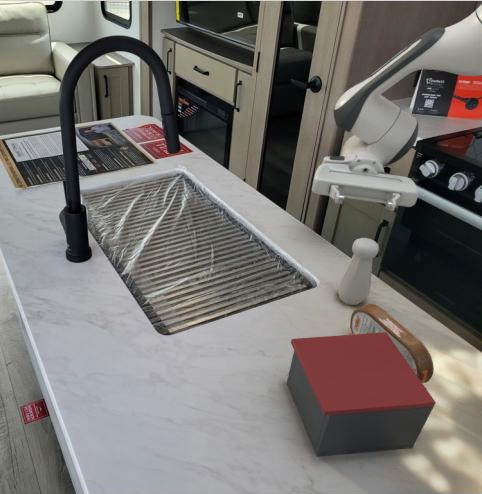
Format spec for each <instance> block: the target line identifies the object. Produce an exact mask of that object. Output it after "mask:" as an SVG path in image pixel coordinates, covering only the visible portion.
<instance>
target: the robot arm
mask: <svg viewBox="0 0 482 494" xmlns="http://www.w3.org/2000/svg"><path fill="white" fill-rule="evenodd" d="M420 70H434V71H435V70H436V71H441V72H447V73H451V74H454V75H458V76H465V77H480V76H481V77H482V4H480V5H479V6H478V7H477V8H476V9H475V10H474V11H473V12H472V13H470V15H468V16H467V17H465V18H464V19H462V20H461V21H458V22H456V23H455V24H452V25H450V26H447V27H434V28H432V29H430V30H428V31H426V32H425V33H423V34H422V35H420V36H419V37H418V38H416V39H415V40H413V41H412V42H411V43H409V44H408V45H406V46H405V47H404V48H403V49H402V50H400V51H399V52H398V53H396V54H395V55H394V56H392V57H391V58H390V59H388V60H387V61H386V62H385V63H384V64H382V65H381V66H379V68H377V69H375V70H374V71H373V72H371V74H369V75H368V76H367V77H364V79H362V80H360V81H359V82H357V83H356V84H354V85H353V86H351V87H350V88H349V89H346V91H345V92H343V94H341V96H339V98H338V99H337V101H336V103H335V104H334V106H333V111H332V112H333V118H334V122H335V125H336V126H337V127H338V128H340V129H342V130H344V131H346V132H348V133H350V134H351V135H352V136H350V137H349V138H348V139H347V140H346V141H345V143H344V144H343V146H342V149H341V152H340V155H336V156H335V155H329V156H324V157H323V160H322V162H321V164H320V165H318V167H317V169H316V170H315V174H314V176H313V181H312V186H311V192H312V193H313V194H315V195H320V196H328V197H330V198H331V199H332V200H334V204H338V205H344V199H347V200H348V199H350V200H357V201H364V202H369V203H370V202H372V203H378V204H384V210H385V211H387V212H394V211H395V209H396V207H397V206H398V207H399V206H400V207H406V208H411V207H413V206H415V205H416V203H417V200H418V197H419V194H420V190H419V188H418V186H417V184H416V183H415V182H414V181H413V180H412V178H410V177H407V176H404V175H395V174H388V173H385V169H384V167H386V166H390V165H392V164H394V163H397V162H398V161H400V160H401V159H402V158H404V156H406V155H407V154H408V153H409V152H410V150H411V149H412V148H413V147H414V146H415V144H416V142H417V139H418V136H419V135H418V134H419V129H420V128H419V126H420V125H419V121H418V119H417V118H415V116H413V115H411V114H410V113H408V111H406V110H405V109H403V108H401V106H400V107H399V106H398V105H396V104H395V103H393V102H392V101H390V100H389V99H387V98H386V97H385V96H384V95H382V94H383V93H385V92H386V91H388V90H389V89H390V88H391V87H393V86H394V85H395V84H397V83H398V82H400V81H401V80H402V79H404V78H405V77H406V76H408V75H409V74H411V73H413V72H416V71H420Z"/></svg>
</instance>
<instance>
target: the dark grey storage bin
mask: <svg viewBox="0 0 482 494" xmlns="http://www.w3.org/2000/svg"><path fill="white" fill-rule="evenodd" d="M286 385H287V387H288V390H289V392H290V395H291V397H292V399H293V402H294V404H295V407H296V409H297V412H298V414H299V416H300V419H301V422H302V424H303V427H304V429H305V431H306V435H307V436H308V439H309V441H310V443H311V447H312V448H313V451H314V454H315V456H316V457H325V456H337V455H346V454H347V455H349V454H358V453H372V452H381V451H392V450H393V451H394V450H403V449H404V450H405V449H413V448H414V446H415V444H416V442H417V440H418V438H419V436H420V434H421V432H422V430H423V429H424V426H425V425H426V423H427V421H428V419H429V417H430V415H431V413H432V411H433V409H434V407H423V408H411V409H399V410H387V411H375V412H363V413H351V414H339V415H327V416H324V414H323V412H322V410H321V408H320V406H319V403H318V401H317V399H316V397H315V395H314V393H313V390H312V388H311V386H310V384H309V382H308V379H307V377H306V375H305V373H304V371H303V368H302V366H301V364H300V362H299V360H298V357H297V355H296V353H295V351H294V350H293V354H292V358H291V362H290V367H289V371H288V375H287V379H286Z"/></svg>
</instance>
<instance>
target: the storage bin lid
mask: <svg viewBox="0 0 482 494" xmlns="http://www.w3.org/2000/svg"><path fill="white" fill-rule="evenodd" d="M290 345H291V346H292V349H293V352H294V351H295V353H296V355H297V357H298V360H299V362H300V364H301V366H302V368H303V371H304V373H305V375H306V377H307V379H308V382H309V384H310V386H311V388H312V390H313V393H314V395H315V397H316V399H317V401H318V403H319V406H320V408H321V410H322V412H323V414H324V416H327V415H339V414H351V413H363V412H375V411H387V410H399V409H411V408H423V407H433V408H434V407H435V405H436V403H437V402H436V400H435V399H434V398H433V396H432V395H431V393H430V392H429V391H428V389H427V388H426V386H425V385H424V383H422V382H421V381H420V379H419V378H418V376H417V375H416V374H415V372H414V371H413V369H412V368H411V367H410V365H409V364H408V362H407V361H406V359H405V358H404V357H403V355H402V354H401V352H400V351H399V349H398V348H397V347H396V345H395V344H394V342H393V341H392V340H391V338H390V337H389V335H388V334H387V332H382V333H368V334H354V335H353V334H343V335H330V336H329V335H327V336H326V335H325V336H315V337H314V336H313V337H300V338H299V337H298V338H291V341H290Z"/></svg>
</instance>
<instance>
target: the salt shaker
mask: <svg viewBox="0 0 482 494" xmlns="http://www.w3.org/2000/svg"><path fill="white" fill-rule="evenodd" d="M351 249H352V253H353V255H352V257H351V259H350V260H349V262H348V265H347V266H346V268H345V270H344V272H343V273H342V275H341V277H340V279H339V280H338V282H337V284H336V288H337V289H336V290H337V294H338V299H340V300H341V301H342V302H343V303H344V304H346V305H350V306H351V305H352V306H358V305H359V304H360V303H362V302H363V301H365V300H367V298H368V297H369V295H370V293H371V283H372V272H373V259H374V258H376V256H377V255H378V254H379V251H380V247H379V244H378V243H377V242H376V241H375V240H373V239H371V238H368V237H360V238H357V239H355V240H354V242H353V243H352V247H351Z"/></svg>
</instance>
